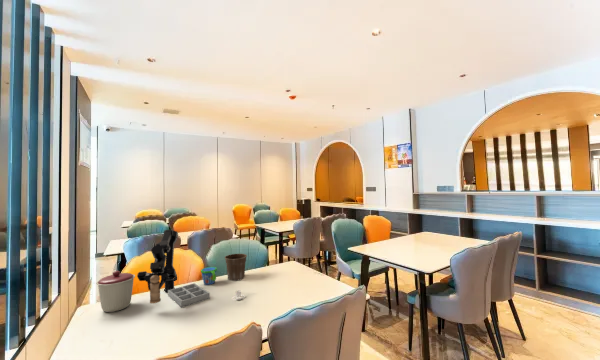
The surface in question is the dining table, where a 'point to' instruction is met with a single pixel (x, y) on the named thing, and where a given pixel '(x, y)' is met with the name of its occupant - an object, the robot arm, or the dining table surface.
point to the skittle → (154, 289)
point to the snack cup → (209, 275)
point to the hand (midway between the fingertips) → (154, 289)
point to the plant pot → (235, 266)
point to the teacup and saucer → (238, 295)
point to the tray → (188, 295)
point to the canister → (115, 291)
